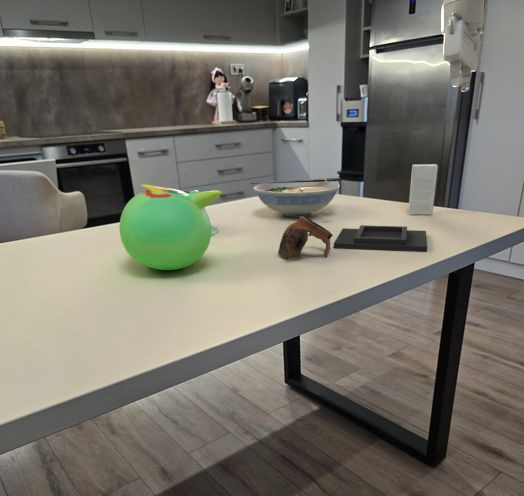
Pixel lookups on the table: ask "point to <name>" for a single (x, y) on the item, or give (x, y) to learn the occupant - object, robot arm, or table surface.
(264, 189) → the ramen bowl
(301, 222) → the brown arched part
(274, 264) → the table surface
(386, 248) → the dock pad
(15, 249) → the table surface
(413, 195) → the cosmetic box
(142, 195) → the toy bird
